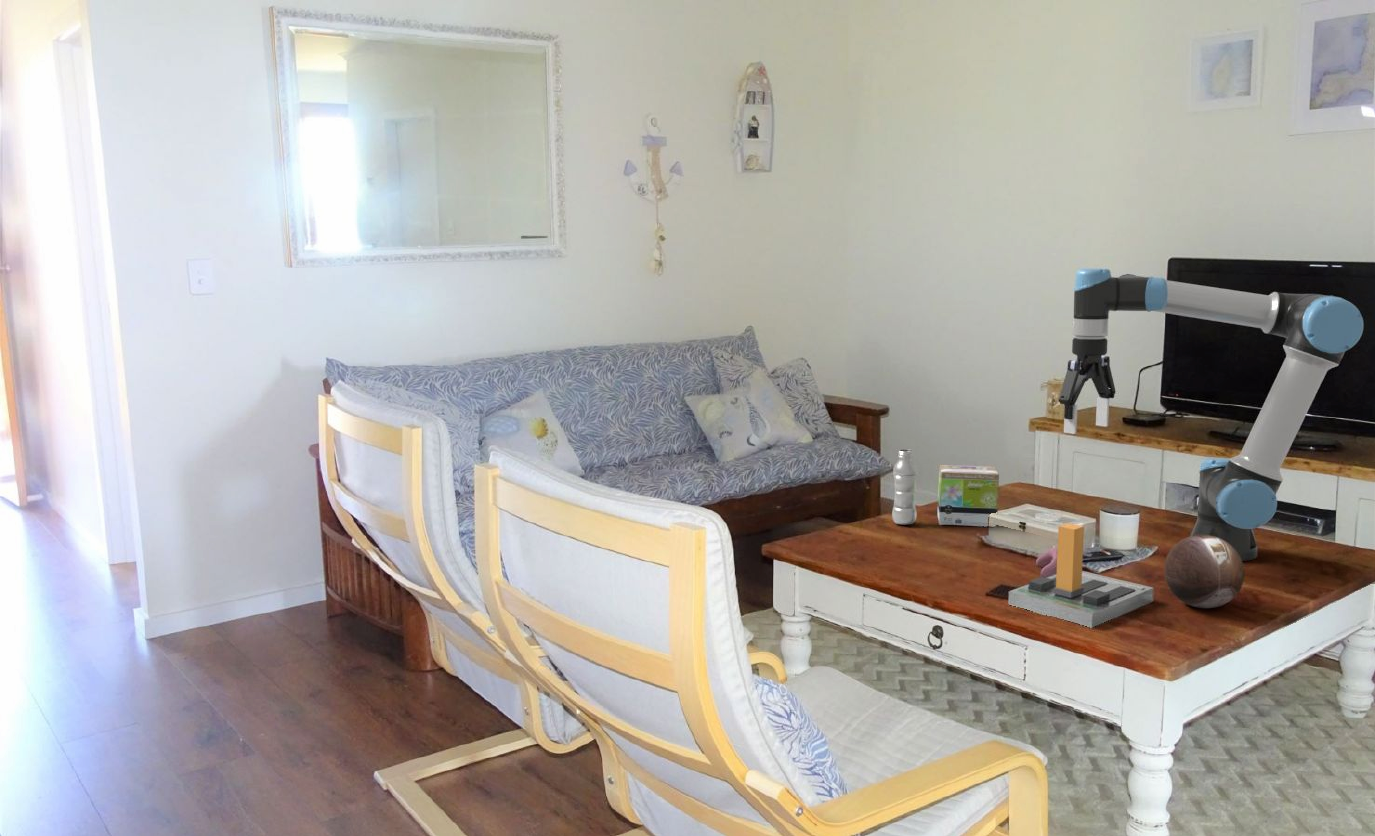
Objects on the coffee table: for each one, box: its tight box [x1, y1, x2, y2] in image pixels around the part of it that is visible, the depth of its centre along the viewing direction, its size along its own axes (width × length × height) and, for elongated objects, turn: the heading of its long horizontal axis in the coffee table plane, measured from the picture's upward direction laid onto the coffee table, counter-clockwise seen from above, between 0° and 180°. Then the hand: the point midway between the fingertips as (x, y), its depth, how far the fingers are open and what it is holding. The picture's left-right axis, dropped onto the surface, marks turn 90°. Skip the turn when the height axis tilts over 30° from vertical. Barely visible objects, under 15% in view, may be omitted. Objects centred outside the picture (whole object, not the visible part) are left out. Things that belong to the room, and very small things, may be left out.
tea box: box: [937, 464, 1000, 528], centre depth 305 cm, size 15×10×15 cm, turn 81°
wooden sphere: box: [1163, 535, 1245, 609], centre depth 235 cm, size 15×15×15 cm
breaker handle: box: [1053, 522, 1085, 598], centre depth 234 cm, size 5×4×14 cm
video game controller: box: [1035, 545, 1058, 578], centre depth 261 cm, size 10×5×7 cm, turn 170°
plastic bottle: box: [891, 448, 918, 526], centre depth 303 cm, size 6×7×20 cm
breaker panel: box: [1007, 570, 1155, 629], centre depth 239 cm, size 24×19×5 cm
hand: (1086, 429), depth 262 cm, fingers open, 13 cm apart
